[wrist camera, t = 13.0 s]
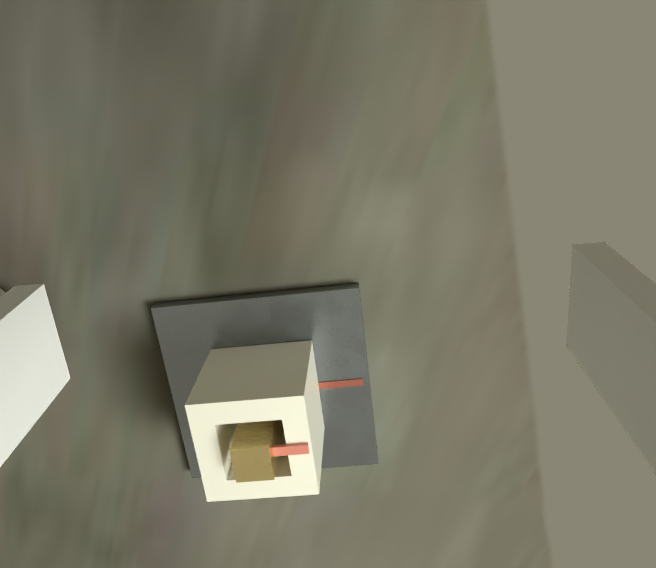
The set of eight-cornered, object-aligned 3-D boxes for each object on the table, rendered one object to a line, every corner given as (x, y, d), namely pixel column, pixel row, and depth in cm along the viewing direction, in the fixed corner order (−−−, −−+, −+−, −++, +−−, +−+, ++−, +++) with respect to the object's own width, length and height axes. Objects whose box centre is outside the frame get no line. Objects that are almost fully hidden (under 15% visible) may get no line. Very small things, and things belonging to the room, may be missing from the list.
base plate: (194, 470, 54) (160, 565, 45) (154, 303, 49) (105, 369, 39) (377, 456, 53) (383, 550, 43) (358, 283, 47) (360, 346, 38)
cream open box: (228, 434, 52) (206, 504, 44) (210, 349, 49) (183, 407, 41) (324, 427, 51) (318, 497, 43) (312, 340, 48) (303, 398, 40)
